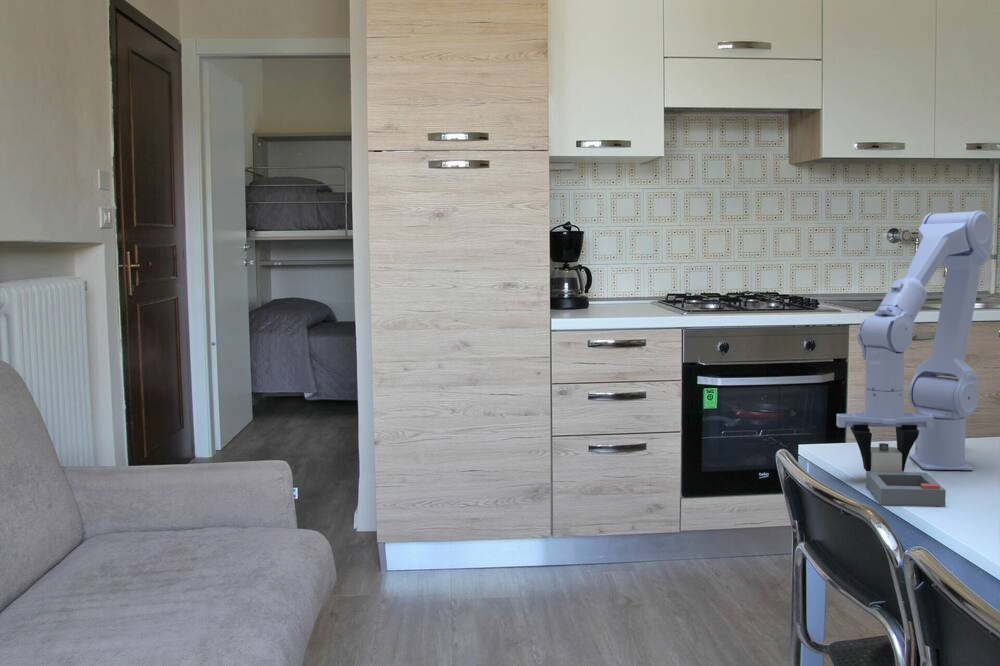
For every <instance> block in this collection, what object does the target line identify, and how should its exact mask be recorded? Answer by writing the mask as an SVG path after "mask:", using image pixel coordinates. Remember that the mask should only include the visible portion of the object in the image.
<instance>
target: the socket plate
mask: <svg viewBox="0 0 1000 666" xmlns="http://www.w3.org/2000/svg"><path fill="white" fill-rule="evenodd" d="M865 477H866V478H865V487H866V489H867V490H868V491H869V493H870V494H871V495H872V496H873V497H874V499H876V502H878V504H879V505H880V506H907V507H908V506H909V507H910V506H912V507H913V506H914V507H946V495H947V494H946V491H947V490H946V488H944V487H943V486H942V485H941V484H940V483H939V482H937V480H935V479H934V478H933V477H932V476H931V475H930V474H929V473H927V472H923V471H921V472H916V471H915V472H913V471H907V472H906V471H904V472H866V471H865Z"/></svg>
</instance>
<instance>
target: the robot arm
mask: <svg viewBox="0 0 1000 666" xmlns="http://www.w3.org/2000/svg"><path fill="white" fill-rule="evenodd" d="M917 233H918V235H917V236H918V242H919V245H918V247H917V249H916V250H915V253H914V255H913V258H912V260H911V261H910V264H909V266H908V269H907V271H906V273H905V275H904V277H903V278H898V279H896V280H895V281H893V282H892V284H891V285H890V288H889V289H888V291H887V293H886V294H885V296H884V297H883V300H882V301H881V303H880V304H879V305H878V307H877V309H876V311H875V313H874V315H870V316H867V318H865V319H863V321H862V322H861V323H860V325H859V329H858V332H857V333H856V335H857V336H856V337H857V341H858V343H859V346H860V348H861V357H862V359H863V360H865V384H864V385H865V386H864V387H865V392H864V393H865V402H864V404H865V405H864V406H865V407H864V408H865V409H864V412H853V413H836V427H838V428H846V427H849V428H850V430H851V432H852V434H853V436H854V438H855V441H856V444H857V446H858V449H859V452H860V455H861V459H862V464H863V469H864V470H865V472H866V471H871V455H870V450H871V447H872V436H873V434H872V432H871V429H870V428H895V433H896V435H895V436H896V438H895V439H896V448H897V449H898V450H899V451H900V452H901V453H902V472H905V467H906V464H907V461H908V457H909V458H910V459H912V461H914V462H915V463H916V464H917V465H918V466H919V467H920V468H922V469H923V470H940V471H941V470H942V471H943V470H945V471H946V470H947V471H949V470H951V471H952V470H953V471H954V470H955V471H973V470H974V467H973V466H972V465H970V464H969V463H968V462H967V461H966V460H965V459H966V419H967V417H970V416H971V414H972V413H973V412H974V411H975V409H976V408H977V406H978V403H979V402H978V401H979V389H978V385H979V384H978V382H979V375H978V374H977V372H976V371H975V370H973V368H972V367H970V366H969V365H968V364H967V362H966V361H965V360H966V355H967V350H968V349H967V348H968V343H969V337H970V334H971V329H972V328H971V327H972V323H973V316H974V311H975V306H976V300H977V296H978V290H979V286H980V285H979V284H980V279H981V273H982V268H983V264H985V263H986V262H988V260H989V257H990V256H989V254H990V250H991V244H992V240H993V236H994V227H993V225H992V223H991V219H990V217H989V215H988V214H987V213H986V212H985V211H984V210H981V209H980V210H979V209H978V210H974V211H961V212H959V211H958V212H941V213H940V212H939V213H937V212H930V213H928V214H926V215H925V216H924V217H923V219H922V221H921V223H920V226H919V227H918V230H917ZM941 264H942V265H944V267H945V268H946V275H945V276H946V277H945V282H944V287H943V291H942V298H941V303H940V308H939V309H940V310H939V314H938V318H937V325H936V330H935V334H934V340H933V346H932V351H931V356H929V358H927V359H925V360H924V361H923V362H921V363H919V364H918V365H917V366H916V367H915V373H914V375H913V377H912V379H911V380H910V383H909V385H908V388H907V398H908V401H909V403H910V405H911V406H912V408H913V409H914V411H915V413H911V412H910V413H909V412H904V384H905V383H904V382H905V381H904V379H905V378H904V377H905V375H904V373H905V371H904V368H905V351H906V350H907V349H908V348H909V346H910V345H911V344H912V341H913V337H914V336H913V334H914V329H915V326H916V325H915V324H916V323H915V319H916V318H917V316H918V315H919V313H920V311H921V309H922V307H923V305H924V303H925V302H926V300H927V299H928V294H927V293H928V292H927V290H926V288H925V287H926V285H927V284H928V283H929V282H930V280H931V279H932V277H933V276H934V275H935V273H936V272H937V271H938V269H939V267H940V265H941ZM913 446H914V453H910V452H911V449H912V447H913Z"/></svg>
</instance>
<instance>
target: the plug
mask: <svg viewBox="0 0 1000 666" xmlns="http://www.w3.org/2000/svg"><path fill="white" fill-rule="evenodd" d="M889 445H890V444H889V443H884V442H880V443H879V444H878V446H871V450H870V455H871V471H866V470H865V473H866V472H902V453H901V452H900V451H899V450H898V449H897V447H896V446H889Z"/></svg>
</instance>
